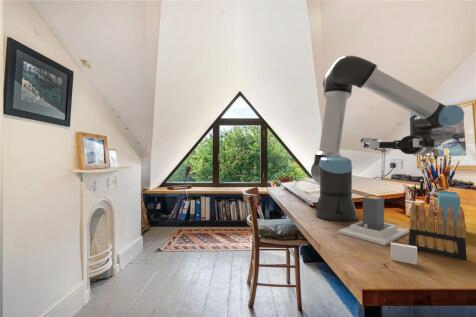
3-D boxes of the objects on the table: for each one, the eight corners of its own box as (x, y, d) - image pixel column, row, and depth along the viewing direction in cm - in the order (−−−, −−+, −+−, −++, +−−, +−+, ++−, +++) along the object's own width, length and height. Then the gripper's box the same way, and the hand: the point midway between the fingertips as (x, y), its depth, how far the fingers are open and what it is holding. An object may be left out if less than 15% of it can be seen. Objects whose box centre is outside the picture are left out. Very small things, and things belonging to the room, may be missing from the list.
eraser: (417, 265, 51) (417, 248, 51) (390, 259, 53) (390, 243, 53) (416, 262, 52) (416, 246, 52) (390, 257, 54) (390, 242, 54)
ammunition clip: (408, 248, 60) (408, 201, 59) (409, 246, 61) (409, 200, 61) (466, 261, 52) (466, 207, 52) (466, 258, 54) (466, 206, 54)
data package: (460, 238, 66) (460, 196, 66) (439, 235, 69) (439, 195, 69) (455, 228, 76) (455, 191, 76) (437, 226, 79) (437, 190, 78)
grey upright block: (362, 230, 72) (362, 197, 72) (370, 227, 75) (370, 195, 75) (376, 233, 69) (376, 199, 69) (383, 230, 72) (383, 197, 72)
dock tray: (338, 232, 72) (338, 221, 72) (365, 223, 82) (365, 213, 82) (384, 245, 62) (384, 232, 62) (408, 232, 72) (408, 221, 72)
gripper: (453, 153, 84) (436, 153, 72) (379, 154, 104) (355, 154, 92) (453, 133, 84) (436, 129, 72) (379, 137, 104) (355, 135, 92)
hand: (390, 143), depth 82 cm, fingers open, 13 cm apart
